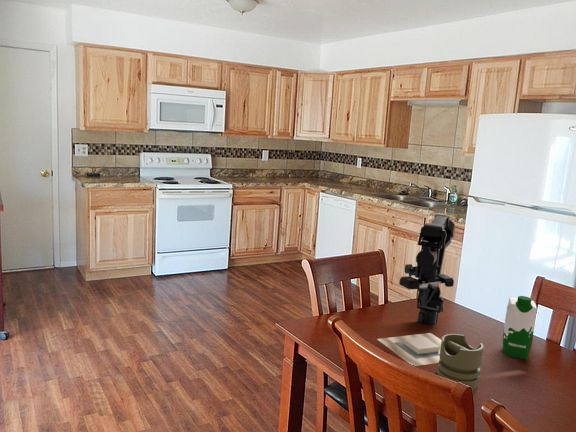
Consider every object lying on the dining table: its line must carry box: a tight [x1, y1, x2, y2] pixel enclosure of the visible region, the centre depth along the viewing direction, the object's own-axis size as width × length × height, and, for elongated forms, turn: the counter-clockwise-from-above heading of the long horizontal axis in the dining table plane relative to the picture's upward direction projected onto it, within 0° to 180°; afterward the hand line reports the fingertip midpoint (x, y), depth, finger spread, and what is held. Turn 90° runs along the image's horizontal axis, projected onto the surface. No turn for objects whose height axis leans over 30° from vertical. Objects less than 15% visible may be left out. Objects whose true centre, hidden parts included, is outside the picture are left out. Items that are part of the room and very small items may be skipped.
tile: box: [403, 337, 439, 355], centre depth 163 cm, size 2×8×8 cm
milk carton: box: [502, 295, 538, 361], centre depth 166 cm, size 9×9×20 cm
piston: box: [436, 333, 484, 391], centre depth 145 cm, size 11×12×11 cm
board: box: [376, 332, 442, 367], centre depth 164 cm, size 22×20×1 cm
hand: (423, 305), depth 172 cm, fingers closed
